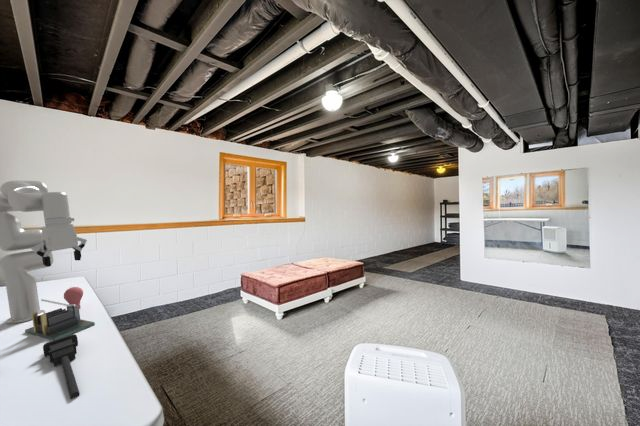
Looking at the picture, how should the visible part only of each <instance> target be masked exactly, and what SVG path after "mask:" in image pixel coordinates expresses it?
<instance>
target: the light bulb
mask: <svg viewBox="0 0 640 426" xmlns="http://www.w3.org/2000/svg"><path fill="white" fill-rule="evenodd" d="M83 295H84V291H83V289H82V288H81V287H78V286H72V287H69V288H67V289H66V290H65V292H64V293H63V298H64V301H66V302H67V304H68V305H69V304H74V305H79V310H80V309H81V300H82V297H83Z"/></svg>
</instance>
